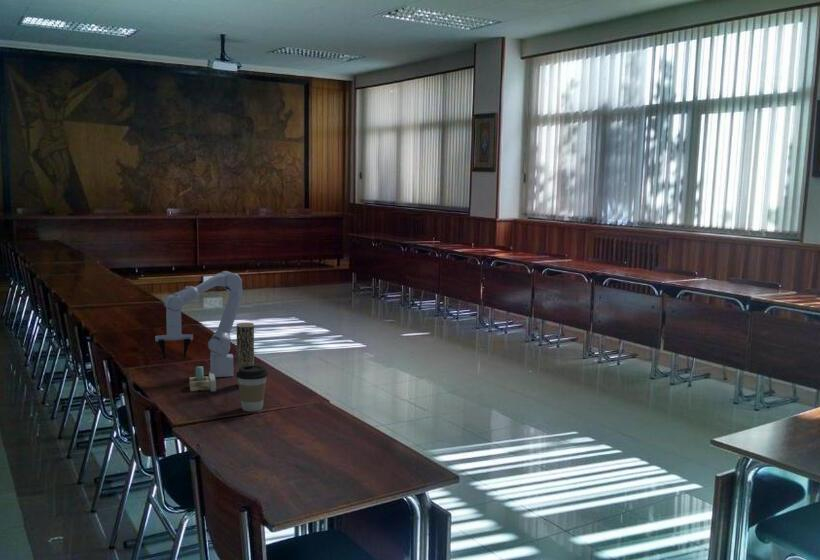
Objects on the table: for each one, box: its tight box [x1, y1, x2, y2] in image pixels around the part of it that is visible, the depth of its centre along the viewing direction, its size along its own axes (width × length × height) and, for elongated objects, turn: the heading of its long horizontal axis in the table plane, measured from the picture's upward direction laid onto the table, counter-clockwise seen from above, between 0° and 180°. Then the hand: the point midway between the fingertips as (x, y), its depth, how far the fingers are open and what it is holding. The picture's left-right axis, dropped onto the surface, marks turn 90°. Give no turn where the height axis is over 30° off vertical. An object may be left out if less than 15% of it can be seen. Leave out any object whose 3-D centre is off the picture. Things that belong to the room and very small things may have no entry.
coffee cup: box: [235, 364, 269, 413], centre depth 269 cm, size 11×11×15 cm
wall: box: [208, 373, 217, 392], centre depth 296 cm, size 2×12×4 cm, turn 18°
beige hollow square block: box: [188, 375, 211, 392], centre depth 295 cm, size 8×8×4 cm
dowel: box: [195, 365, 205, 381], centre depth 294 cm, size 3×3×8 cm
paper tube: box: [235, 322, 255, 387], centre depth 299 cm, size 7×7×25 cm
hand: (174, 357), depth 302 cm, fingers open, 7 cm apart
